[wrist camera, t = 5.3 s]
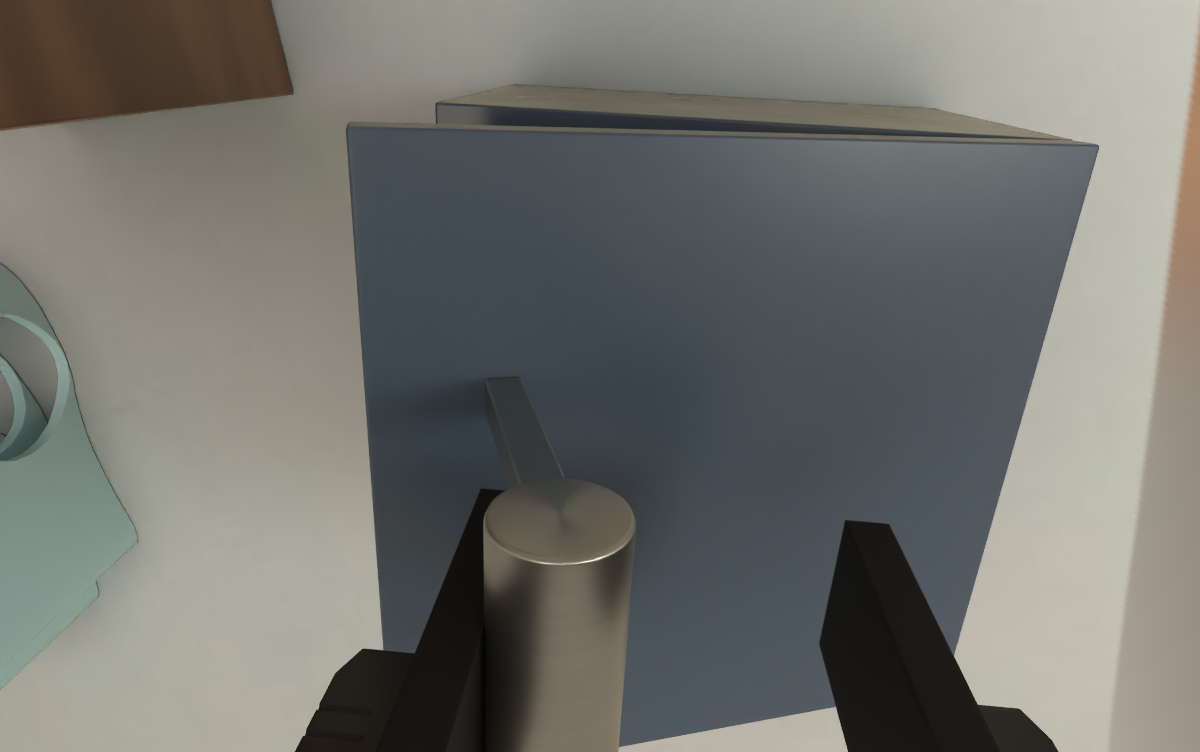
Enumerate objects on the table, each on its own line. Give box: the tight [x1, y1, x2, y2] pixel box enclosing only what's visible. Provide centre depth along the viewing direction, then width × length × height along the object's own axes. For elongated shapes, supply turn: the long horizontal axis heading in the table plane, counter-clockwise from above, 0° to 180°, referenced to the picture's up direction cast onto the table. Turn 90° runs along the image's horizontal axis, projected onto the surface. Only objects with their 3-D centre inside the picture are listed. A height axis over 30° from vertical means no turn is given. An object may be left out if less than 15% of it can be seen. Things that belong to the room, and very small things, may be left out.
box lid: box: [346, 122, 1099, 752], centre depth 15 cm, size 15×15×7 cm
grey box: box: [436, 84, 1073, 141], centre depth 25 cm, size 14×15×10 cm
